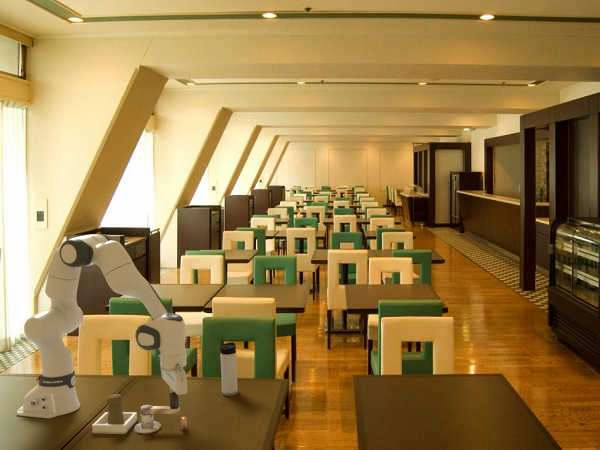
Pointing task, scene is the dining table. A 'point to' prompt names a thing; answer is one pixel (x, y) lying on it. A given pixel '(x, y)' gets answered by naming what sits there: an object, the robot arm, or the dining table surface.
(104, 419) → the tray
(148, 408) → the crank
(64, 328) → the robot arm
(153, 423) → the crank stand
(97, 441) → the dining table surface
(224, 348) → the travel mug
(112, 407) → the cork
